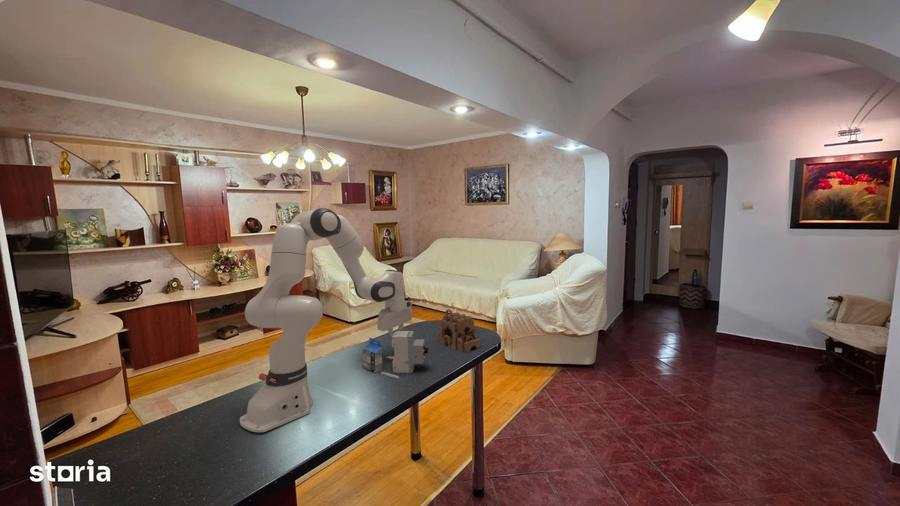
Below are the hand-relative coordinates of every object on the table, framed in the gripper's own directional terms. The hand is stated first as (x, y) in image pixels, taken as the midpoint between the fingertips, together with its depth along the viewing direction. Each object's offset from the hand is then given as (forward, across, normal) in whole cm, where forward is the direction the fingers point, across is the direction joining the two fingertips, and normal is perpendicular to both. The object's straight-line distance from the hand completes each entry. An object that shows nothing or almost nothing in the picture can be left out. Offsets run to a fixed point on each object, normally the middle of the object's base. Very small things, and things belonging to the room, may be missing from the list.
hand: (395, 335), depth 161 cm
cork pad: (+10, 0, 0) cm, 10 cm away
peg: (+10, -17, -11) cm, 23 cm away
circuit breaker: (+10, -7, -14) cm, 19 cm away
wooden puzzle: (+10, +28, -16) cm, 34 cm away
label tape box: (+10, -15, 0) cm, 18 cm away
